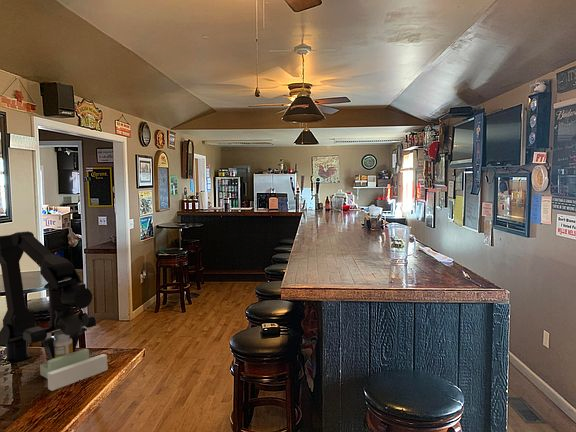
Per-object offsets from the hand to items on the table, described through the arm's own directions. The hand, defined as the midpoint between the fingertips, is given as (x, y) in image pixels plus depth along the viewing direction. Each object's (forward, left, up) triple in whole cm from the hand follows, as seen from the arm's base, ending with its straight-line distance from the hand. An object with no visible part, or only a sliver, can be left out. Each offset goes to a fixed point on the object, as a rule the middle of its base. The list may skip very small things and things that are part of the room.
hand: (62, 356), depth 126 cm
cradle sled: (+1, 0, -4) cm, 4 cm away
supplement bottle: (0, 0, -3) cm, 3 cm away
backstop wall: (+9, 0, -4) cm, 10 cm away
